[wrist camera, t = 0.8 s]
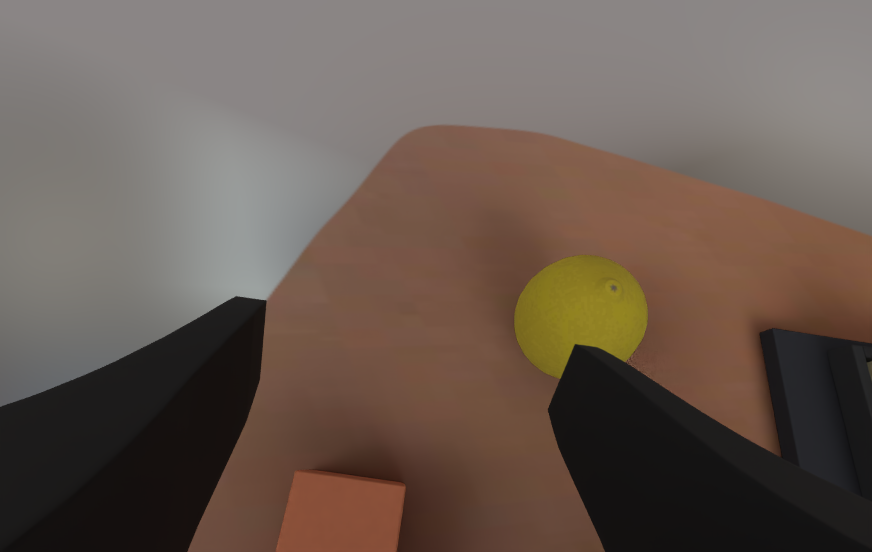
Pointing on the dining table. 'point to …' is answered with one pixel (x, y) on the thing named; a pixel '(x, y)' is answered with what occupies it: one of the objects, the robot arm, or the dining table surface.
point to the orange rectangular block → (341, 514)
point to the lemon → (579, 312)
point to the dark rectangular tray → (822, 405)
